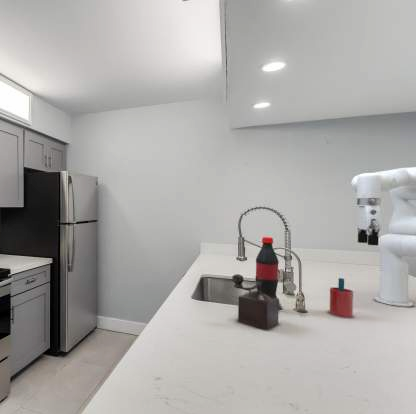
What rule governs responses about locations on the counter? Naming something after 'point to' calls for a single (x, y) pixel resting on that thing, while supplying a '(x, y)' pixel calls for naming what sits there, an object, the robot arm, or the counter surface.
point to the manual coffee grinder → (256, 306)
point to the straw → (341, 284)
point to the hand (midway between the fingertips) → (367, 243)
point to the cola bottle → (267, 268)
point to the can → (341, 302)
